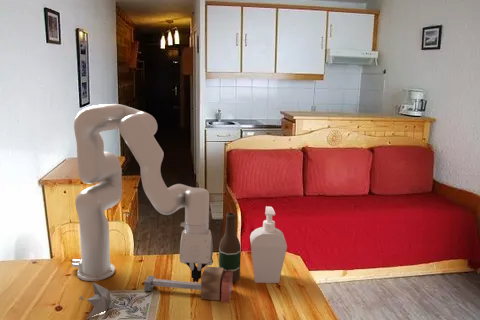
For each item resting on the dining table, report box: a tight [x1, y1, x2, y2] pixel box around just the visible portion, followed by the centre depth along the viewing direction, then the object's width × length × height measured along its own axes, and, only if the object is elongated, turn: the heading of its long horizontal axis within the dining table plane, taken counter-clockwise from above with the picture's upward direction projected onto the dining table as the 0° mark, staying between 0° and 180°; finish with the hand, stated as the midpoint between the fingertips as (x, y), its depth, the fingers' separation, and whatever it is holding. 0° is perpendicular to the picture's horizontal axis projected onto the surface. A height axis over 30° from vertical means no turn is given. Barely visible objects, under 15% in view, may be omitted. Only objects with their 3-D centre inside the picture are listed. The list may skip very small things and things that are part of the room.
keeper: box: [200, 265, 223, 301], centre depth 130 cm, size 6×7×8 cm
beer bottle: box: [218, 212, 242, 283], centre depth 140 cm, size 8×8×24 cm
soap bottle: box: [249, 205, 288, 284], centre depth 141 cm, size 12×10×26 cm
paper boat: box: [78, 281, 111, 320], centre depth 120 cm, size 12×6×9 cm
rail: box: [143, 270, 233, 304], centre depth 131 cm, size 28×8×7 cm, turn 84°
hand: (196, 279), depth 130 cm, fingers closed
